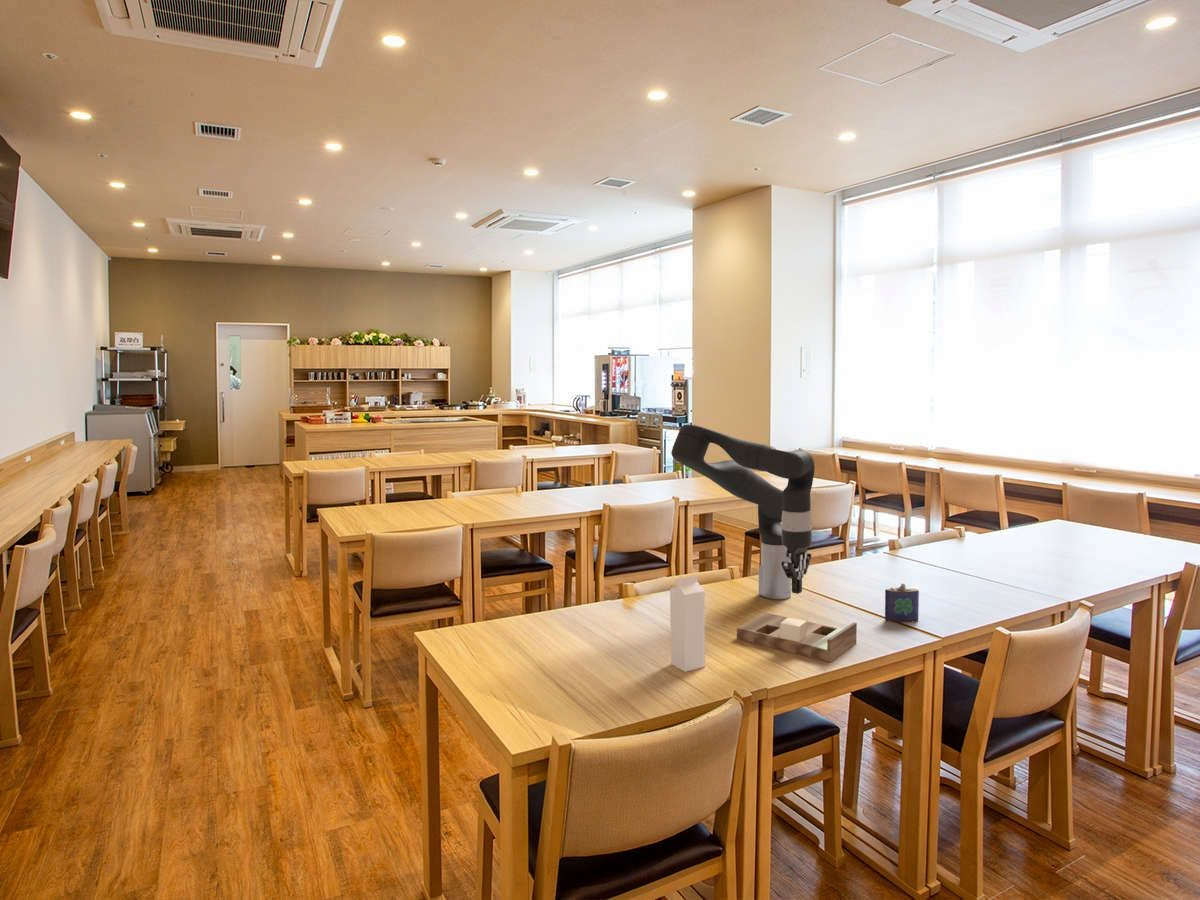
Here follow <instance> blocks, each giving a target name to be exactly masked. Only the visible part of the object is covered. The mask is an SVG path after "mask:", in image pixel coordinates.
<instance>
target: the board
mask: <svg viewBox="0 0 1200 900" xmlns="http://www.w3.org/2000/svg"><path fill="white" fill-rule="evenodd" d="M786 618H789V617H788V616H784V615H779V614H773V613H769V612H765V613H762V614H761V615H758V616H757V617H755V618H753V619H751V620H748V622H745V623H744V624H741V625H740V626H738V627H736V639H737V640H740V641H743V640H744V642H747V641H748V642H749V643H751V642H752V643H753V644H756V645H759V644H760V645H761V646H764V647H767V648H772V649H775V650H779V651H783V652H788V653H791V654H795V653H796V654H795V655H799V654H800V656H803V655H804V656H803V657H807V656H808V658H811V657H813V658H812V659H815V658H817V659H816V660H819V659H820V661H823V660H825V661H824V662H827V661H828V663H832V661H835V660H836V659H837V658H839V657H840V656H841V655H842V653H843V654H844V653H845V652H847V651H848V650H850V649H851V648H853V645H854V646H855V645H856V644H857V626H858V625H857V624H858V623H857V622H854V621H853V622H852V623H850V624H849V625H848V626H846V627H845V628H839V627H838V628H837V627H834V626H828V625H824V624H821V623H815V622H812V621H811V622H810V621H807V631H806V637H805V638H804V639H802V640H801V641H800V642H797V641H792V640H787V639H782V638H780V623H781V622H782V621H784V620H785V619H786ZM850 647H851V648H850ZM846 650H847V651H846ZM835 658H836V659H835Z"/></svg>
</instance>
